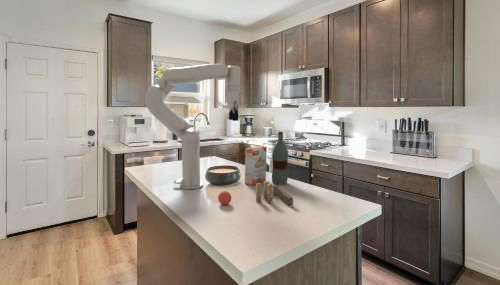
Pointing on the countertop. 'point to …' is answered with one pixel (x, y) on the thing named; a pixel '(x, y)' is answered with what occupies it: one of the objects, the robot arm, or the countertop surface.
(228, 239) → the countertop surface
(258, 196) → the front pin
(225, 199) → the ball
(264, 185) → the pin
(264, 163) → the cracker box
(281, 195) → the dark wooden bar
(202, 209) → the countertop surface
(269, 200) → the pin
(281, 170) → the bottle
